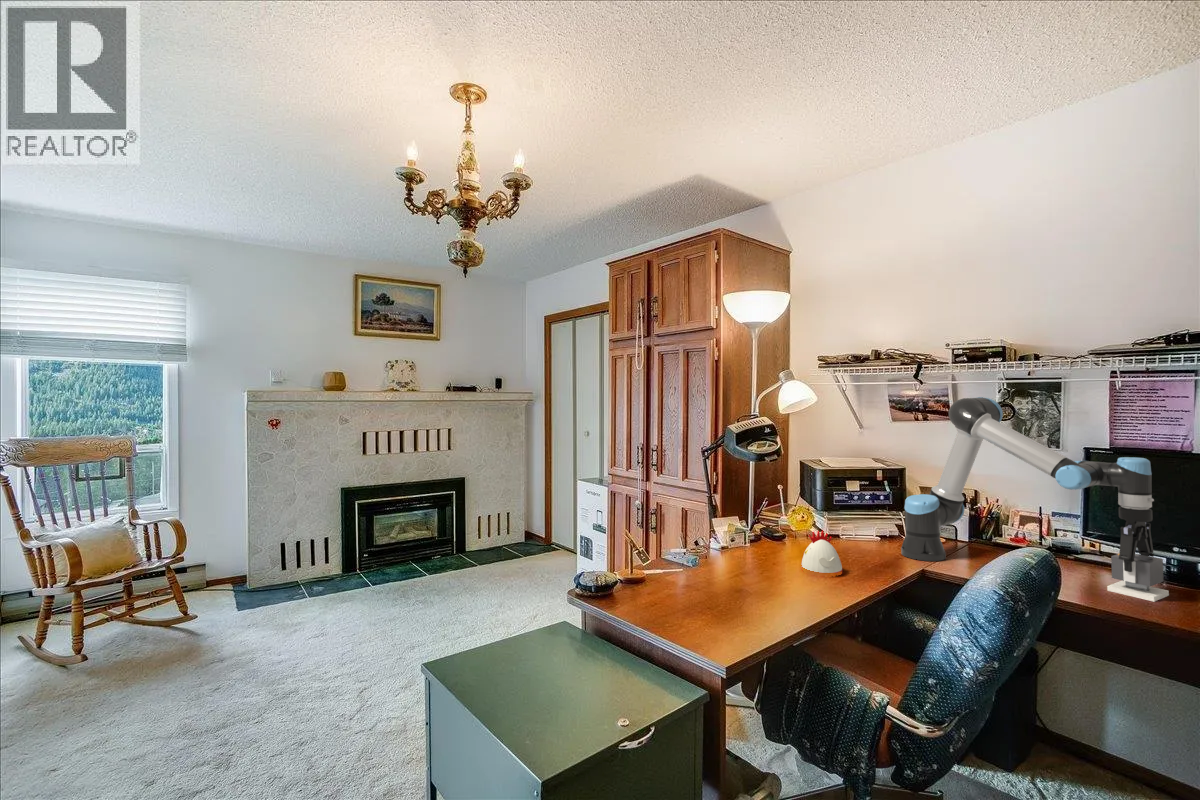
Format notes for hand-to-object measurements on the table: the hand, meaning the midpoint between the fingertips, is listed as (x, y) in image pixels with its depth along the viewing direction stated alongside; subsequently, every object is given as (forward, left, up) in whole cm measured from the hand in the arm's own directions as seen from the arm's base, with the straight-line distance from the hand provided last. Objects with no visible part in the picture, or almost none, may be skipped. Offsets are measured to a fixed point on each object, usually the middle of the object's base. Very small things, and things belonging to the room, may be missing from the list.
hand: (1137, 578), depth 171 cm
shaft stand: (0, 0, -4) cm, 4 cm away
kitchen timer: (-65, -65, -5) cm, 92 cm away
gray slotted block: (0, 0, 0) cm, 0 cm away
